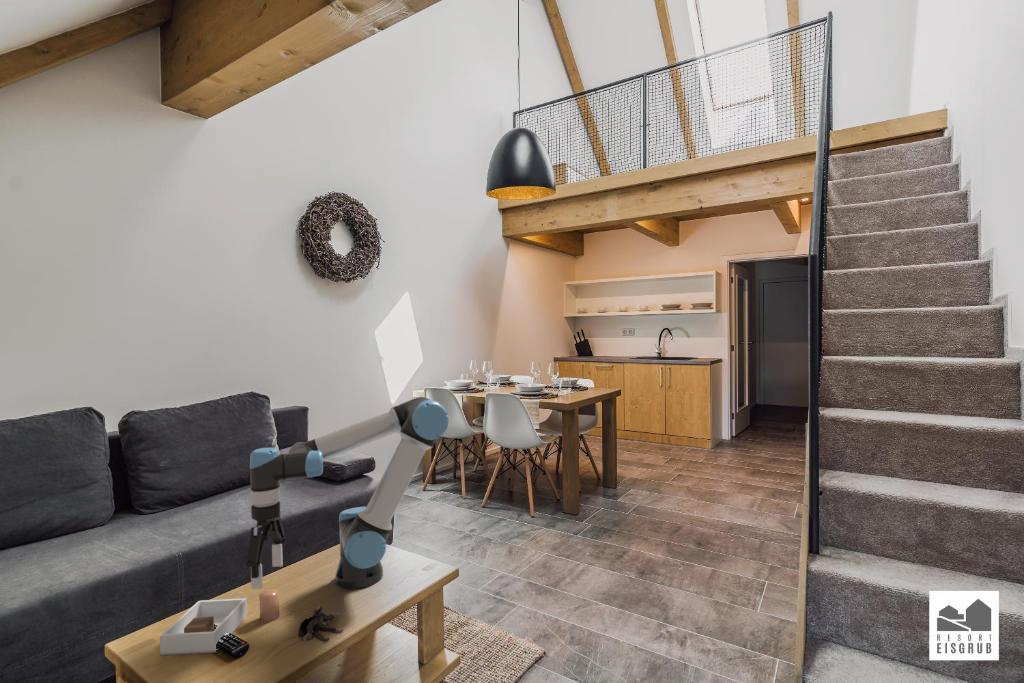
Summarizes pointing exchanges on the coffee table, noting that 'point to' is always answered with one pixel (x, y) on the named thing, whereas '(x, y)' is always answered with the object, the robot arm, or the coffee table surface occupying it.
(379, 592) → the coffee table surface
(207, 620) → the walnut cube
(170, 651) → the tote
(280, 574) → the coffee table surface
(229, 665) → the coffee table surface
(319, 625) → the dark brown branched piece
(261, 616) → the round-ended peach cylinder
